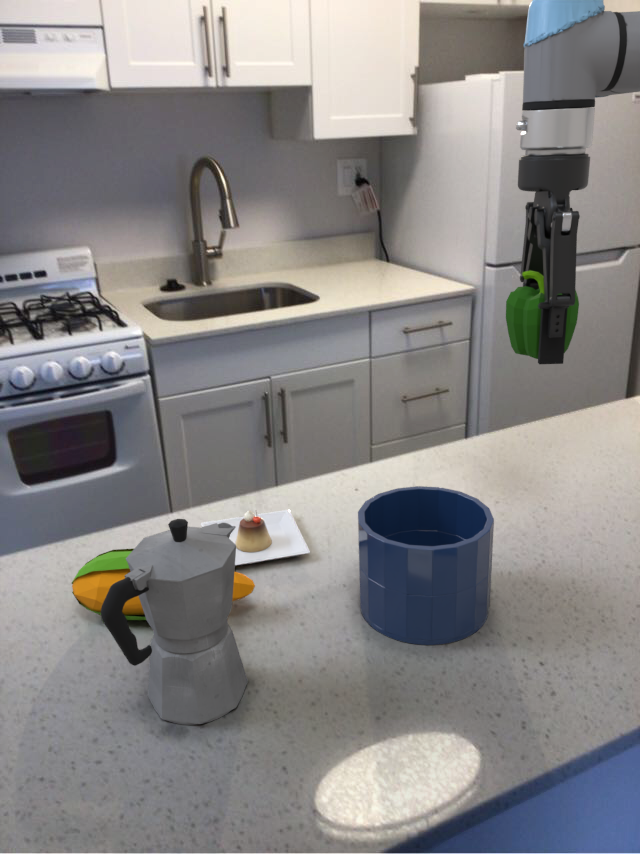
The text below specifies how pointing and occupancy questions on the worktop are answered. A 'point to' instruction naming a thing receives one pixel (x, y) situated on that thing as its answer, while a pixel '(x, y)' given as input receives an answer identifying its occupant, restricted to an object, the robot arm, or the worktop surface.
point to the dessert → (264, 537)
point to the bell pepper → (532, 317)
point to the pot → (425, 564)
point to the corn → (113, 568)
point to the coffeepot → (183, 621)
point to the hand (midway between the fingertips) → (541, 352)
